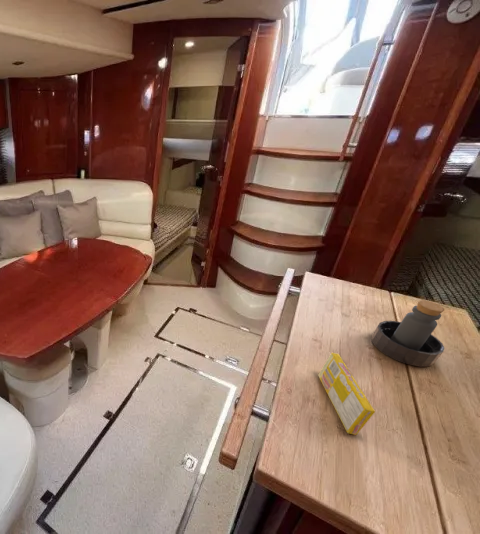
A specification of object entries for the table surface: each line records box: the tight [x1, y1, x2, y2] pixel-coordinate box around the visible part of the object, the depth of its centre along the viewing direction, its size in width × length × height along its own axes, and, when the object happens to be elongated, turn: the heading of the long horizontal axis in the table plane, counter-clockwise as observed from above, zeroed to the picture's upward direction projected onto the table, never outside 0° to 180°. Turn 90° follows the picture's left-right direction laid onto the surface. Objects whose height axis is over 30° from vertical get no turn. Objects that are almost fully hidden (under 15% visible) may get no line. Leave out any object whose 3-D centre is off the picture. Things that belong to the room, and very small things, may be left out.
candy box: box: [317, 352, 376, 436], centre depth 69 cm, size 16×2×8 cm, turn 165°
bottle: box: [391, 299, 445, 351], centre depth 81 cm, size 6×6×15 cm
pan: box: [370, 320, 445, 367], centre depth 84 cm, size 13×13×5 cm
